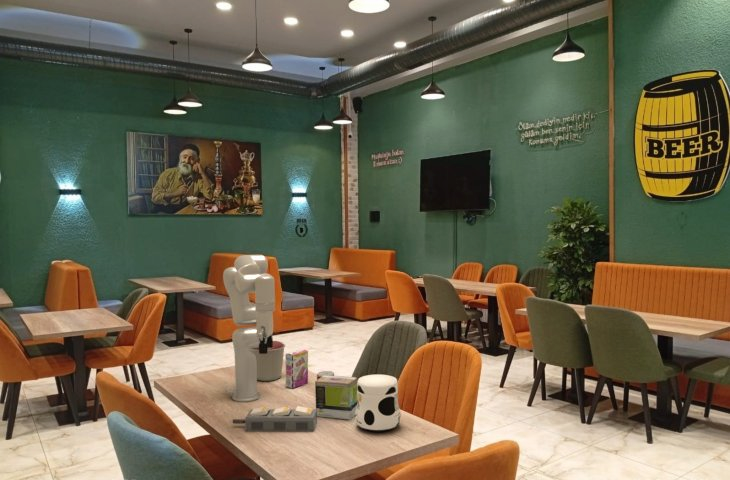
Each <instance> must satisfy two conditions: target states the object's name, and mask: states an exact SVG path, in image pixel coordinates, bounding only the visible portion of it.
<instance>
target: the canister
mask: <svg viewBox="0 0 730 480" xmlns="http://www.w3.org/2000/svg"><path fill="white" fill-rule="evenodd" d="M285 347H286V343H283V342H281V341H278V340H273V347H272V348H268V353H267V354H259V348H252V349H250V350H251V352H252V353H253V354H254V355H255V356H256V362H257V381H259V382H260V381H262V382H270V381H276V380H278V379H279V378H280V377H281V376H282V372H283V365H284V364H283V362H284V354H285Z"/></svg>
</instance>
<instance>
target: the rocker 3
mask: <svg viewBox="0 0 730 480" xmlns="http://www.w3.org/2000/svg"><path fill="white" fill-rule="evenodd" d="M295 409H296V410H295V415H299V416H310V415H311V413H312V410H313V409H314V408H309V407H305V406H301V405H297V407H296V408H295Z"/></svg>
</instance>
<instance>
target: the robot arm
mask: <svg viewBox="0 0 730 480" xmlns="http://www.w3.org/2000/svg"><path fill="white" fill-rule="evenodd" d="M268 263H269V262H268V259H267V258H266V256H265V255H263V254H243V255H240V256H238V257H237V258H236V259H235V260H234V262H233V264H234V266H230V267H227V268H225V270H223V276H222V277H223V278H222V279H223V284H224V287H225V290H226V292H227V295H228V297H229V300H230V309H231V314H232V321H233V323H234V325H236V326H238V327H240V328H238V329H235V330H234V331H233V332H232V336H231V339H232V340H231V341H232V345H233V353H234V354H233V355H234V375H235V376H234V378H235V379H234V381H235V387H232V388H231V387H227V388H226V393H227V394H229V395H231V394H232V396H231V398H232V400H233V401H235V402H252V401H257V400H258V399H260V398H261V395H262V394H261V392H260V391H258V380H257V362H256V356H255V355H254V354H253V353H252V352H251V350H250V349H252V348H259V354H267V353H268V348H272V347H273V341H274V339H273V338H274V337H273V332H274V315H273V314H274V313H273V312H275V311H276V296H275V295H276V294H275V293H276V291H275V290H276V289H275V287H276V286H275V277H274V276H272V275H271V274H270V273H267V271H268V266H269V264H268ZM249 294H254V300H255V301H254V302H255V303H251V302H250V295H249ZM253 325H256V326H253ZM241 326H243V327H241ZM244 326H246V327H244Z"/></svg>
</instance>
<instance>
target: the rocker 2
mask: <svg viewBox="0 0 730 480" xmlns="http://www.w3.org/2000/svg"><path fill="white" fill-rule="evenodd" d="M274 409H275V410H274V412H273V413H272V414H273V416H284V415H288V414H289V413H290V411H291V409H292V408H291V405H289V406H283V407H278V408H274Z"/></svg>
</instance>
